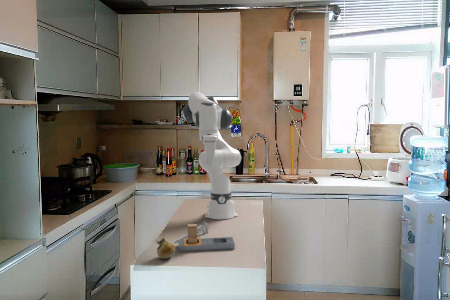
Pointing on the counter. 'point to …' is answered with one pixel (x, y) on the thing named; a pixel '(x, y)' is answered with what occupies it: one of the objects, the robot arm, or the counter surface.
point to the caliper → (199, 229)
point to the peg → (192, 233)
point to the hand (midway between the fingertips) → (209, 165)
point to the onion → (165, 249)
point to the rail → (207, 244)
